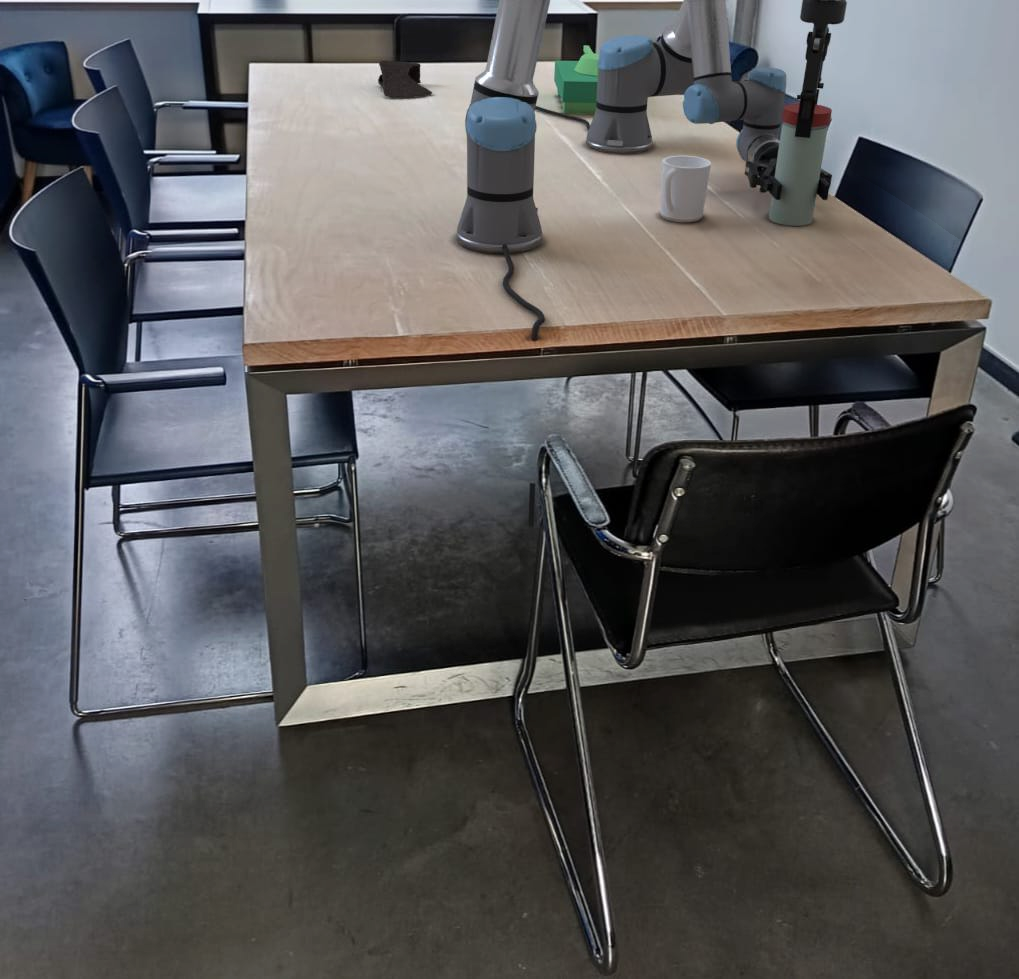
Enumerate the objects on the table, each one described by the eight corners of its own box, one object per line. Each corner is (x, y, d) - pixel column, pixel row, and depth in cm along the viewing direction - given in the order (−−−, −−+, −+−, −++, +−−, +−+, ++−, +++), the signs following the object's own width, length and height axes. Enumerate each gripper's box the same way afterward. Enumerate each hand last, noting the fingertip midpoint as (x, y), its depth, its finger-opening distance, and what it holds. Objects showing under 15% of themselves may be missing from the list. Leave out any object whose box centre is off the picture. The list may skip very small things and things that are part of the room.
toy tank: (617, 42, 302) (635, 66, 272) (613, 88, 309) (631, 117, 279) (553, 40, 301) (564, 65, 271) (551, 87, 308) (562, 116, 278)
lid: (832, 118, 202) (835, 106, 201) (826, 129, 196) (828, 115, 194) (786, 114, 205) (788, 101, 204) (777, 123, 198) (779, 110, 197)
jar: (778, 226, 206) (795, 119, 195) (762, 213, 213) (777, 108, 202) (819, 225, 207) (837, 117, 197) (801, 211, 214) (818, 107, 204)
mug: (673, 205, 215) (679, 152, 210) (713, 215, 210) (719, 161, 205) (642, 218, 208) (647, 164, 202) (683, 229, 203) (689, 173, 197)
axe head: (443, 87, 294) (392, 77, 287) (436, 115, 299) (385, 106, 292) (421, 62, 307) (371, 52, 300) (414, 89, 311) (365, 80, 304)
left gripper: (844, 7, 180) (821, 146, 192) (850, -9, 197) (828, 120, 209) (798, 4, 182) (778, 142, 193) (807, -12, 199) (788, 116, 211)
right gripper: (818, 178, 224) (854, 212, 205) (717, 178, 223) (744, 212, 204) (824, 141, 220) (862, 172, 201) (721, 140, 219) (749, 172, 200)
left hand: (804, 130), depth 201 cm, fingers closed on lid, 9 cm apart
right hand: (802, 192), depth 202 cm, fingers closed on jar, 8 cm apart
